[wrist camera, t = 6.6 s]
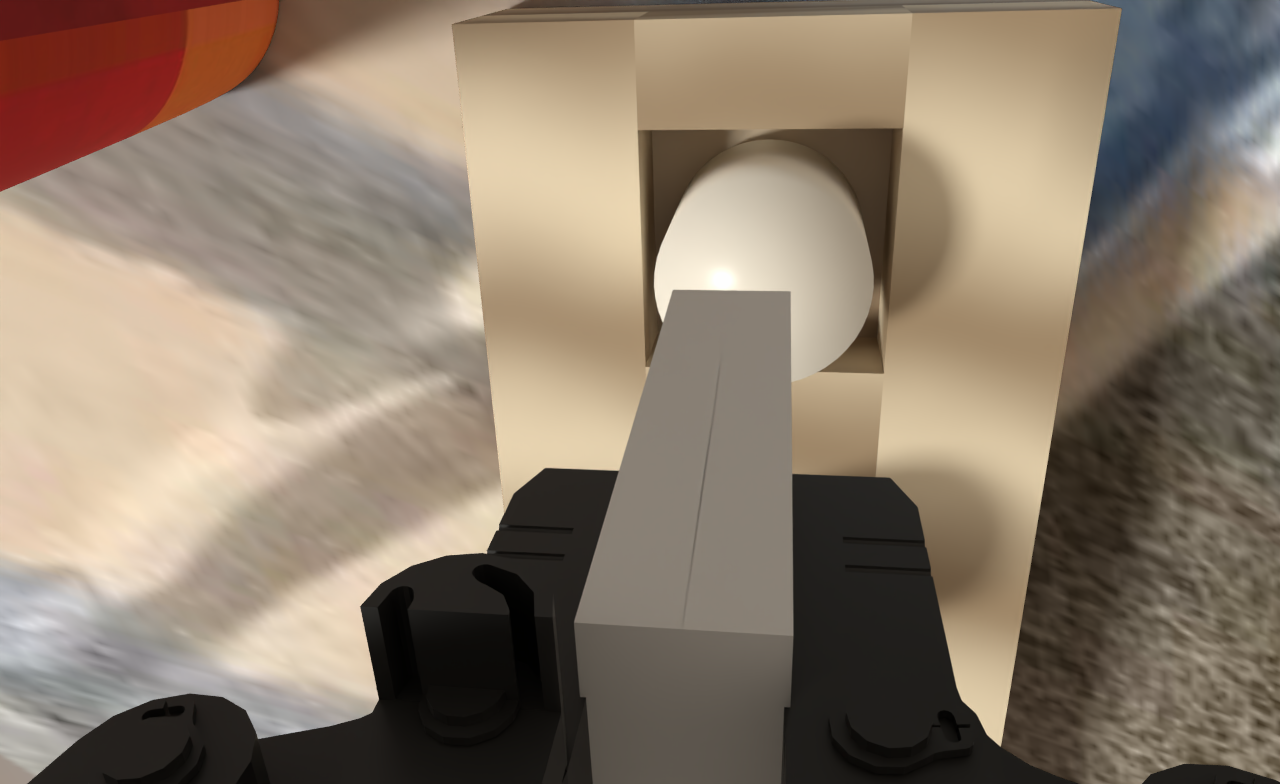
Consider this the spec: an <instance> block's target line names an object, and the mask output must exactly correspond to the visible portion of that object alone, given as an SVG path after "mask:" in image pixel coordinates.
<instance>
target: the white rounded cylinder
mask: <svg viewBox="0 0 1280 784" xmlns="http://www.w3.org/2000/svg"><path fill="white" fill-rule="evenodd" d="M873 289H874V274H873V267H872V260H871V256H870V251H869V247H868V242H867V237H866V233H865V228H864V224H863V219H862V215H861V210H860V207H859V203H858V200H857V197H856V195H855V193H854V190H853V188H852V186H851V185H850V183H849V182H848V180H847V178H846V177H845V176H844V174H843V173H842V172H841V171H840V170H839V169H838V167H837V166H835V165H834V164H833V163H832V162H831V161H830V160H829V159H827V158H826V157H824V156H823V155H822V154H820V153H819V152H817V151H815V150H813V149H811V148H809V147H807V146H804V145H801V144H798V143H795V142H790V141H785V140H773V139H767V140H755V141H751V142H746V143H742V144H739V145H737V146H734V147H731V148H729V149H727V150H725V151H723V152H721V153H720V154H718V155H717V156H715V157H714V158H712V159H711V160H710V161H709V162H708V163H706V164H705V165H704V166H703V167H702V168H701V169H700V170H699V171H698V172H697V174H696V175H695V176H694V177H693V179H692V180H691V182H690V183H689V185H688V186H687V188H686V190H685V192H684V194H683V196H682V198H681V201H680V203H679V205H678V208H677V210H676V212H675V214H674V217H673V219H672V221H671V224H670V226H669V228H668V231H667V233H666V235H665V237H664V240H663V242H662V244H661V247H660V250H659V253H658V256H657V261H656V266H655V273H654V290H655V299H656V303H657V307H658V311H659V314H660V317H661V319H662V322H663V321H664V318H665V314H666V311H667V308H668V304H669V301H670V297H671V294H672V291H673V290H737V291H791V382H793V381H797V380H801V379H803V378H806V377H808V376H810V375H813V374H815V373H817V372H818V371H820V370H822V369H824V368H826V367H827V366H828V365H830V364H831V363H832V362H834V361H835V360H836V359H838V358H839V357H840V356H841V355H842V354H843V353H844V352H845V351H846V350H847V349H848V348H849V346H850V345H851V344H852V343H853V341H854V340H855V339H856V337H857V335H858V334H859V332H860V331H861V329H862V327H863V325H864V323H865V320H866V318H867V316H868V313H869V309H870V306H871V302H872V296H873Z"/></svg>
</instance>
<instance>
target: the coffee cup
mask: <svg viewBox="0 0 1280 784" xmlns="http://www.w3.org/2000/svg"><path fill="white" fill-rule="evenodd" d="M278 10H279V0H0V192H1V191H3V190H5V189H8V188H10V187H12V186H15V185H17V184H20V183H22V182H24V181H27V180H29V179H32V178H34V177H36V176H39V175H41V174H43V173H46V172H48V171H51V170H53V169H55V168H58V167H60V166H62V165H65V164H67V163H69V162H72V161H74V160H77V159H79V158H81V157H84V156H86V155H88V154H91V153H93V152H95V151H98V150H100V149H103V148H105V147H107V146H110V145H112V144H114V143H117V142H119V141H121V140H124V139H126V138H128V137H131V136H133V135H135V134H138V133H140V132H142V131H145V130H147V129H149V128H152V127H154V126H156V125H158V124H161V123H163V122H165V121H168V120H170V119H172V118H175V117H177V116H179V115H182V114H184V113H186V112H188V111H190V110H192V109H194V108H197V107H199V106H201V105H203V104H205V103H207V102H209V101H211V100H213V99H215V98H217V97H219V96H221V95H222V94H224V93H226V92H228V91H230V90H231V89H233V88H234V87H236V86H237V85H238V84H240V83H241V82H242V81H243V80H244V79H246V78H247V77H248V76H249V75H250V74H251V73H252V72H253V71H254V69H255V68H256V67H257V66H258V64H259V63H260V61H261V60H262V58H263V57H264V55H265V53H266V51H267V49H268V47H269V45H270V43H271V40H272V37H273V34H274V31H275V27H276V23H277V17H278Z"/></svg>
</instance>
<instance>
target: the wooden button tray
mask: <svg viewBox="0 0 1280 784" xmlns="http://www.w3.org/2000/svg"><path fill="white" fill-rule="evenodd" d="M1121 11H1122V8H1118V7H1114V6H1110V5H1106V4H1102V3H1098V2H1094V1H1090V0H829V1H790V2H751V3H712V4H673V5H634V6H596V7H557V8H518V9H505V10H502V11H498V12H494V13H491V14H487V15H483V16H480V17H476V18H472V19H469V20H465V21H462V22H458V23H454V24H452V30H453V40H454V49H455V58H456V68H457V77H458V86H459V95H460V105H461V114H462V123H463V133H464V142H465V151H466V161H467V170H468V179H469V189H470V198H471V207H472V216H473V226H474V235H475V244H476V254H477V263H478V272H479V282H480V291H481V300H482V309H483V319H484V328H485V337H486V347H487V356H488V365H489V375H490V384H491V393H492V402H493V412H494V421H495V430H496V440H497V449H498V458H499V468H500V477H501V486H502V495H503V505H504V513H505V511H506V509H507V507H508V505H509V502H510V500H511V498H512V496H513V494H514V493H515V492H516V491H517V490H519V489H520V488H521V487H522V486H523V485H525V484H526V483H527V482H528V481H530V480H531V479H532V478H533V477H535V476H536V475H537V474H538V473H539V472H541V471H542V470H543V469H544V468H563V469H589V470H615V471H619V469H620V466H621V462H622V459H623V456H624V452H625V449H626V446H627V442H628V439H629V435H630V432H631V429H632V425H633V422H634V419H635V415H636V412H637V409H638V405H639V402H640V398H641V395H642V392H643V388H644V385H645V382H646V378H647V375H648V372H649V368H650V365H651V361H652V358H653V355H654V351H655V348H656V345H657V341H658V338H659V335H660V331H661V328H662V324H663V322H662V319H661V317H660V314H659V311H658V307H657V303H656V299H655V290H654V273H655V266H656V261H657V256H658V253H659V250H660V247H661V244H662V242H663V240H664V237H665V235H666V233H667V231H668V228H669V226H670V224H671V221H672V219H673V217H674V214H675V212H676V210H677V208H678V205H679V203H680V201H681V198H682V196H683V194H684V192H685V190H686V188H687V186H688V185H689V183H690V182H691V180H692V179H693V177H694V176H695V175H696V174H697V172H698V171H699V170H700V169H701V168H702V167H703V166H704V165H705V164H706V163H708V162H709V161H710V160H711V159H712V158H714V157H715V156H717V155H718V154H720V153H721V152H723V151H725V150H727V149H729V148H731V147H734V146H737V145H739V144H742V143H746V142H751V141H755V140H767V139H773V140H785V141H790V142H795V143H798V144H801V145H804V146H807V147H809V148H811V149H813V150H815V151H817V152H819V153H820V154H822V155H823V156H824V157H826V158H827V159H829V160H830V161H831V162H832V163H833V164H834V165H835V166H837V167H838V169H839V170H840V171H841V172H842V173H843V174H844V176H845V177H846V178H847V180H848V182H849V183H850V185H851V186H852V188H853V190H854V193H855V195H856V197H857V200H858V203H859V207H860V210H861V215H862V219H863V224H864V228H865V233H866V237H867V242H868V247H869V251H870V256H871V260H872V267H873V274H874V289H873V296H872V302H871V306H870V309H869V313H868V316H867V318H866V320H865V323H864V325H863V327H862V329H861V331H860V332H859V334H858V335H857V337H856V339H855V340H854V341H853V343H852V344H851V345H850V346H849V348H848V349H847V350H846V351H845V352H844V353H843V354H842V355H841V356H840V357H839V358H838V359H836V360H835V361H834V362H832V363H831V364H830V365H828V366H827V367H826V368H824V369H822V370H820V371H818V372H817V373H815V374H813V375H810V376H808V377H806V378H803V379H801V380H797V381H793V382H791V398H792V474H809V475H835V476H861V477H887V478H891V479H892V480H893V481H894V482H895V483H896V484H897V485H898V486H899V488H900V489H901V490H902V491H903V492H904V493H905V494H906V495H907V496H908V497H909V498H910V499H911V500H912V501H913V502H914V504H915V505H916V506H917V507H918V510H919V515H920V520H921V524H922V529H923V534H924V538H925V547H926V548H927V552H928V557H929V561H930V566H931V576H933V580H934V585H935V589H936V594H937V599H938V603H939V608H940V612H941V617H942V622H943V626H944V631H945V636H946V640H947V645H948V649H949V654H950V659H951V663H952V668H953V673H954V677H955V682H956V687H957V690H958V692H959V695H960V697H961V700H962V701H963V702H964V703H965V704H966V705H967V706H968V707H969V708H971V709H972V710H973V711H974V712H975V713H976V714H977V716H978V718H979V720H980V722H981V724H982V726H983V728H984V730H985V732H986V734H987V735H988V736H989V737H990V738H991V739H992V740H993V741H995V742H996V743H997V744H998V745H999V746H1000V747H1001V743H1002V736H1003V730H1004V724H1005V718H1006V712H1007V706H1008V700H1009V694H1010V688H1011V682H1012V675H1013V669H1014V663H1015V657H1016V651H1017V645H1018V639H1019V633H1020V627H1021V621H1022V615H1023V608H1024V602H1025V596H1026V590H1027V584H1028V578H1029V572H1030V566H1031V560H1032V554H1033V547H1034V541H1035V535H1036V529H1037V523H1038V517H1039V511H1040V505H1041V499H1042V493H1043V487H1044V480H1045V474H1046V468H1047V462H1048V456H1049V450H1050V444H1051V438H1052V432H1053V426H1054V419H1055V413H1056V407H1057V401H1058V395H1059V389H1060V383H1061V377H1062V371H1063V365H1064V359H1065V352H1066V346H1067V340H1068V334H1069V328H1070V322H1071V316H1072V310H1073V304H1074V298H1075V291H1076V285H1077V279H1078V273H1079V267H1080V261H1081V255H1082V249H1083V243H1084V237H1085V230H1086V224H1087V218H1088V212H1089V206H1090V200H1091V194H1092V188H1093V182H1094V176H1095V170H1096V163H1097V157H1098V151H1099V145H1100V139H1101V133H1102V127H1103V121H1104V115H1105V109H1106V102H1107V96H1108V90H1109V84H1110V78H1111V72H1112V66H1113V60H1114V54H1115V48H1116V42H1117V35H1118V29H1119V23H1120V17H1121Z"/></svg>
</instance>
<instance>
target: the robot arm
mask: <svg viewBox="0 0 1280 784" xmlns="http://www.w3.org/2000/svg"><path fill="white" fill-rule="evenodd" d="M360 607H361V612H362V617H363V622H364V627H365V632H366V637H367V642H368V647H369V652H370V657H371V662H372V666H373V671H374V676H375V681H376V686H377V691H378V696H379V701H378V703H377V705H376V706H375V708H374V710H373V712H372V713H371V714H369V715H366V716H364V717H362V718H359V719H356V720H352V721H348V722H344V723H341V724H337V725H333V726H329V727H323V728H318V729H312V730H306V731H301V732H295V733H290V734H284V735H279V736H273V737H268V738H262V739H258V738H257V734H256V731H255V729H254V727H253V725H252V723H251V721H250V719H249V716H248V714H247V712H246V710H244V709H242V708H241V707H239V706H237V705H235V704H234V703H232V702H230V701H229V700H227V699H225V698H223V697H217V696H208V695H198V694H185V695H179V696H174V697H168V698H162V699H156V700H152V701H149V702H147V703H144V704H142V705H139V706H137V707H134V708H132V709H130V710H127V711H125V712H122V713H120V714H117V715H115V716H113V717H111V718H110V719H108V720H107V721H106V722H104V723H103V724H101V725H100V726H98V727H97V728H95V729H94V730H92V731H91V732H89V733H88V734H86V735H85V736H83V737H82V738H80V739H79V740H78V741H77V742H75V743H74V744H73V745H72V746H71V747H70V748H68V749H67V750H66V751H65V752H64V753H63V754H61V755H60V756H59V757H58V758H57V759H56V760H54V761H53V762H52V763H51V764H50V765H49V766H47V767H46V768H45V769H44V770H43V771H42V772H40V773H39V774H38V775H37V776H36V777H35V778H33V779H32V780H31V781H30V782H29V783H28V784H1078V783H1075V782H1071V781H1068V780H1065V779H1062V778H1060V777H1057V776H1055V775H1052V774H1050V773H1048V772H1045V771H1043V770H1040V769H1038V768H1035V767H1033V766H1031V765H1029V764H1027V763H1025V762H1024V761H1022V760H1021V759H1019V758H1017V757H1016V756H1014V755H1012V754H1011V753H1009V752H1008V751H1006V750H1004V749H1003V748H1001V747H1000V746H999V745H998V744H997V743H996V742H995V741H993V740H992V739H991V738H990V737H989V736H988V735H987V734H986V732H985V730H984V728H983V726H982V724H981V722H980V720H979V718H978V716H977V714H976V713H975V712H974V711H973V710H972V709H971V708H969V707H968V706H967V705H966V704H965V703H964V702H963V701H962V700H961V697H960V695H959V692H958V690H957V687H956V682H955V677H954V673H953V668H952V663H951V659H950V654H949V649H948V645H947V640H946V636H945V631H944V626H943V622H942V617H941V612H940V608H939V603H938V599H937V594H936V589H935V585H934V580H933V576H931V566H930V561H929V557H928V552H927V548H926V547H925V538H924V534H923V529H922V524H921V520H920V515H919V510H918V507H917V506H916V505H915V504H914V502H913V501H912V500H911V499H910V498H909V497H908V496H907V495H906V494H905V493H904V492H903V491H902V490H901V489H900V488H899V486H898V485H897V484H896V483H895V482H894V481H893V480H892V479H891V478H887V477H861V476H835V475H809V474H792V398H791V291H737V290H673V291H672V294H671V297H670V301H669V304H668V308H667V311H666V314H665V318H664V321H663V324H662V328H661V331H660V335H659V338H658V341H657V345H656V348H655V351H654V355H653V358H652V361H651V365H650V368H649V372H648V375H647V378H646V382H645V385H644V388H643V392H642V395H641V398H640V402H639V405H638V409H637V412H636V415H635V419H634V422H633V425H632V429H631V432H630V435H629V439H628V442H627V446H626V449H625V452H624V456H623V459H622V462H621V466H620V469H619V471H615V470H589V469H563V468H544V469H543V470H542V471H541V472H539V473H538V474H537V475H536V476H535V477H533V478H532V479H531V480H530V481H528V482H527V483H526V484H525V485H523V486H522V487H521V488H520V489H519V490H517V491H516V492H515V493H514V494H513V496H512V498H511V500H510V502H509V505H508V507H507V509H506V511H505V513H504V515H503V518H502V520H501V522H500V524H499V531H496V533H495V535H494V537H493V539H492V541H491V543H490V546H489V548H488V550H487V554H484V553H478V554H463V555H449V556H444V557H440V558H437V559H434V560H430V561H427V562H423V563H420V564H417V565H413V566H411V567H409V568H407V569H405V570H404V571H402V572H400V573H399V574H397V575H395V576H393V577H392V578H390V579H388V580H386V581H385V582H383V583H381V584H380V585H379V586H378V588H377V589H376V590H375V591H374V592H373V593H372V594H371V595H370V596H369V597H368V598H367V600H366V601H365V602H364V603H363V604H362V605H361V606H360ZM1142 784H1280V782H1278V781H1276V780H1273V779H1270V778H1267V777H1263V776H1260V775H1257V774H1253V773H1250V772H1247V771H1243V770H1240V769H1237V768H1233V767H1230V766H1221V765H1199V764H1182V765H1179V766H1176V767H1173V768H1170V769H1166V770H1163V771H1160V772H1157V773H1154V774H1151V775H1150V776H1149V777H1148V778H1147V779H1146V780H1145V781H1144V782H1143V783H1142Z"/></svg>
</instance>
